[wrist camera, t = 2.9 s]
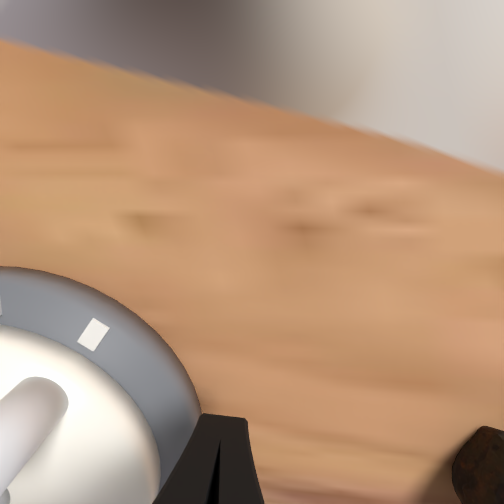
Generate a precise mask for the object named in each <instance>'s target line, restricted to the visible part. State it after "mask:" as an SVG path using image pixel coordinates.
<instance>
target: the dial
mask: <svg viewBox="0 0 504 504" xmlns="http://www.w3.org/2000/svg"><path fill="white" fill-rule="evenodd" d="M160 478H161V469H160V457H159V453H158V448H157V444H156V441H155V438H154V436H153V433H152V430H151V428H150V426H149V424H148V423H147V421H146V419H145V417H144V415H143V413H142V412H141V410H140V409H139V408H138V406H137V405H136V404H135V402H134V401H133V400H132V398H131V397H130V396H129V395H128V393H127V392H126V391H125V390H124V389H123V388H122V387H121V386H120V385H119V384H118V383H117V382H116V381H115V380H114V379H113V378H112V377H110V376H109V375H108V374H107V373H106V372H105V371H103V370H102V369H101V368H100V367H99V366H97V365H96V364H94V363H93V362H91V361H90V360H88V359H87V358H85V357H84V356H82V355H81V354H79V353H77V352H76V351H74V350H72V349H70V348H68V347H66V346H64V345H62V344H60V343H59V342H56V341H54V340H51V339H49V338H46V337H44V336H41V335H39V334H36V333H33V332H30V331H26V330H23V329H19V328H16V327H12V326H6V325H1V324H0V504H152V503H153V501H154V500H155V498H156V497H157V494H158V491H159V485H160Z"/></svg>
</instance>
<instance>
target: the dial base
mask: <svg viewBox="0 0 504 504" xmlns="http://www.w3.org/2000/svg"><path fill="white" fill-rule="evenodd" d="M0 324H1V325H6V326H12V327H16V328H19V329H23V330H26V331H30V332H33V333H36V334H39V335H41V336H44V337H46V338H49V339H51V340H54V341H56V342H59V343H60V344H62V345H64V346H66V347H68V348H70V349H72V350H74V351H76V352H77V353H79V354H81V355H82V356H84V357H85V358H87V359H88V360H90V361H91V362H93V363H94V364H96V365H97V366H99V367H100V368H101V369H102V370H103V371H105V372H106V373H107V374H108V375H109V376H110V377H112V378H113V379H114V380H115V381H116V382H117V383H118V384H119V385H120V386H121V387H122V388H123V389H124V390H125V391H126V392H127V393H128V395H129V396H130V397H131V398H132V400H133V401H134V402H135V404H136V405H137V406H138V408H139V409H140V410H141V412H142V413H143V415H144V417H145V419H146V421H147V423H148V424H149V426H150V428H151V430H152V433H153V436H154V438H155V441H156V444H157V448H158V453H159V457H160V469H161V478H160V485H159V491H158V494H159V492H160V490H161V489H162V487H163V486H164V484H165V482H166V481H167V479H168V477H169V475H170V474H171V472H172V470H173V469H174V467H175V465H176V463H177V462H178V460H179V458H180V456H181V455H182V453H183V451H184V449H185V447H186V445H187V443H188V441H189V439H190V437H191V435H192V433H193V431H194V429H195V426H196V424H197V421H198V419H199V416H200V415H202V413H201V407H200V403H199V400H198V397H197V394H196V391H195V388H194V385H193V383H192V381H191V379H190V377H189V375H188V374H187V372H186V370H185V368H184V366H183V365H182V363H181V362H180V360H179V359H178V357H177V356H176V354H175V353H174V352H173V350H172V349H171V348H170V346H169V345H168V344H167V343H166V342H165V341H164V340H163V339H162V338H161V336H160V335H159V334H158V333H157V332H156V331H155V330H154V329H153V328H152V327H150V326H149V325H148V324H147V323H146V322H145V321H144V320H142V319H141V318H140V317H139V316H138V315H137V314H135V313H134V312H132V311H131V310H129V309H128V308H127V307H125V306H124V305H122V304H121V303H119V302H118V301H116V300H115V299H113V298H111V297H109V296H107V295H105V294H103V293H102V292H100V291H98V290H96V289H94V288H92V287H89V286H87V285H84V284H82V283H80V282H77V281H75V280H72V279H70V278H66V277H63V276H59V275H56V274H52V273H48V272H45V271H40V270H33V269H27V268H21V267H3V266H0ZM158 494H157V495H158Z"/></svg>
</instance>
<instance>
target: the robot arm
mask: <svg viewBox="0 0 504 504" xmlns="http://www.w3.org/2000/svg"><path fill="white" fill-rule="evenodd" d="M152 504H264V500H263V496H262V493H261V489H260V485H259V482H258V478H257V474H256V470H255V466H254V461H253V456H252V451H251V446H250V440H249V432H248V422H247V421H246V419H245V418H239V417H230V416H222V415H213V414H205V413H203V414H202V415H200V416H199V419H198V421H197V424H196V426H195V429H194V431H193V433H192V435H191V437H190V439H189V441H188V443H187V445H186V447H185V449H184V451H183V453H182V455H181V456H180V458H179V460H178V462H177V463H176V465H175V467H174V469H173V470H172V472H171V474H170V475H169V477H168V479H167V481H166V482H165V484H164V486H163V487H162V489H161V490H160V492H159V494H158V495H157V497H156V498H155V500H154V501H153V503H152Z"/></svg>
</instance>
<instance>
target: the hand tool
mask: <svg viewBox="0 0 504 504" xmlns="http://www.w3.org/2000/svg"><path fill="white" fill-rule="evenodd" d="M452 483H453V486H454V489H455V492H456V494H457V496H458V497H459V499H460V501H461V503H462V504H504V431H502V430H498V429H495V428H491V427H488V426H482V427H481V428H480V429H479V430H478V431H477V432H476V434H475V435H474V436H473V437H472V439H471V440H470V441H468V442H467V443H466V444H465V445H464V446H463V448H462V449H461V451H460V452H459V454H458V455H457V457H456V460H455V462H454V465H453V467H452Z"/></svg>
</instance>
